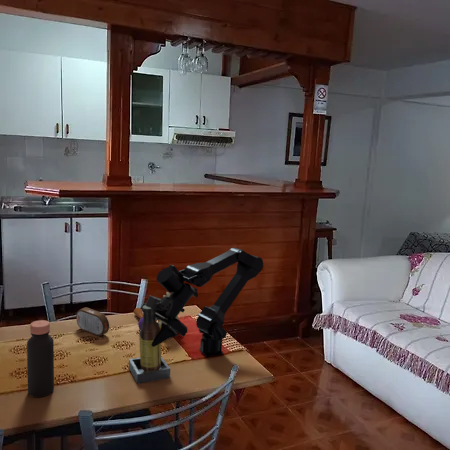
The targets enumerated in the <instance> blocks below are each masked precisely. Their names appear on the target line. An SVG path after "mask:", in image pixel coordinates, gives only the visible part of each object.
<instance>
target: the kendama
mask: <svg viewBox="0 0 450 450" xmlns="http://www.w3.org/2000/svg"><path fill="white" fill-rule="evenodd" d="M140 308H141V307H135V309H134V310H133V314H134V315H135V316H136V317H137V318H139V321H138V323H137V324H138V325H137V326H138V329H139V330H140V329H141V326H142V323H143V311H142V310H141V309H140Z"/></svg>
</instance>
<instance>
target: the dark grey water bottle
mask: <svg viewBox="0 0 450 450" xmlns="http://www.w3.org/2000/svg"><path fill="white" fill-rule="evenodd" d="M50 325H51V323H50V322H49V321H48V320H43V319H40V320H34V321H32V322H31V323H30V325H29V329H30V330H29V332H30V335H31V336H30V338H28V339H27V342H26V357H27V358H26V359H27V360H26V362H27V363H26V365H27V367H26V368H27V371H26V372H27V393H28V395H29V396H30V397H33V398H43V397H46V396H49V395H51V394H52V393H53V391H54V390H55V366H54V365H55V362H54V361H55V359H54V358H55V357H54V352H55V351H54V347H55V346H54V341H55V340H54V338H53V337H52V336H51V335H49V334H50V331H51V330H50V329H51V326H50Z"/></svg>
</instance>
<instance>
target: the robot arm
mask: <svg viewBox="0 0 450 450" xmlns="http://www.w3.org/2000/svg"><path fill="white" fill-rule="evenodd" d="M234 264H236V272H235V274H234V275H233V277H232V278H231V280H230V281H229V282H228V284H227V285H226V286H225V288H224V289H223V291H222V292H221V293H220V294H219V296H218V298H217V299H216V300H215V302H214V303H213V304H212V305H210V306H209V307H208V306H206V305H204V306H203V307H202V310H201V311H200V312H199V313H198V314H197V318H196V321H195V323H196V324H195V325H196V329H198V332H199V333H200V334H202V335H201V339H200V347H199V350H200V351H201V353H202V355H204V356H205V357H206V358H209V357H216V356H222V355H224V351H223V349H222V347H223V339H225V338H226V336H227V334H228V331H227V330H226V329H225V328H224V327H223V325H224V323H225V315H226V312H227V311H228V310H229V309H230V307H231V306H232V304H233V303H234V301H235V300H236V299H237V298H238V296H239V294H240V293H241V291H242V290H243V288H244V287H245V286H246V284H247V283H248V281H250V280H252V279H254V278H256V277H257V276H258V275H259V274H260V272H262V271H263V268H264V261H263V257H260V256H256V255H253V254H251V253H250V254H249V253H248V252H247V251H245V250H243V249H241V248H237V247H232V248H230V249H229V250H227V251H226V252H223V253H221V254H220V255H218V256H216V257H213V258H211V259H209V260H207V261H206V262H198V263H193V264H190V265H187V266H186V267H185V268H184V269H181V270H179V269H178V268H177V267H176V266H175V265H173V264H170V265H169V266H168V267H167V266H166V267H164V268H163V269H161V270H160V271H158V273H157V275H156V281H157V282H158V284H160V286H161V287H163V288H164V290H166V292H168V293H170V296H169V297H167V295H166V296H165V297H164V298H163V297H162V298H160V297H156V296H153V295H148V298H147V300H146V302H144V303H143V304H141V307H139V308H140V309H141V310H142V307H143V306H144V305H146V306H149V307H151V308H152V309H154V310H156V312H155V314H156V322H157V323H158V320H161V321H163V322H164V323H166V324H164V323H162V324H161V330H160V331H159V333H158V334H157V336H156V338H155V339H154V341H153V342H152V344H151V345H152V346H153V347H155V346H157V345H158V344H160V343H161V344H162V343H164V342H165V341H167V340H169V339H171V338H174V337H175V336H176V337H178V336H179V335H180V336H182V337H185V336H186V334H187V333H188V330H189V329H188V327H187V326H186V325H185V324H184V323H183V322H182V321H181V320H180V319H179V320H178V319H176V317H177V316H178V315H180V313H184V312H185V308H184V307H185V306H186V304H187V303H188V302H189V301H190V299H191V298H192V297H194V298H198V297H199V294H198V288H200V287H203V286H205V285H206V284H208V282H210V281H211V280H212V277H213V276H214V275H216V274H218V273H220V272H221V271H224V270H225V269H227V268H229V267H230V266H233V265H234ZM192 285H193V286H195V287H193V286H192ZM196 287H198V288H196ZM178 317H179V316H178ZM158 325H159V323H158Z"/></svg>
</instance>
